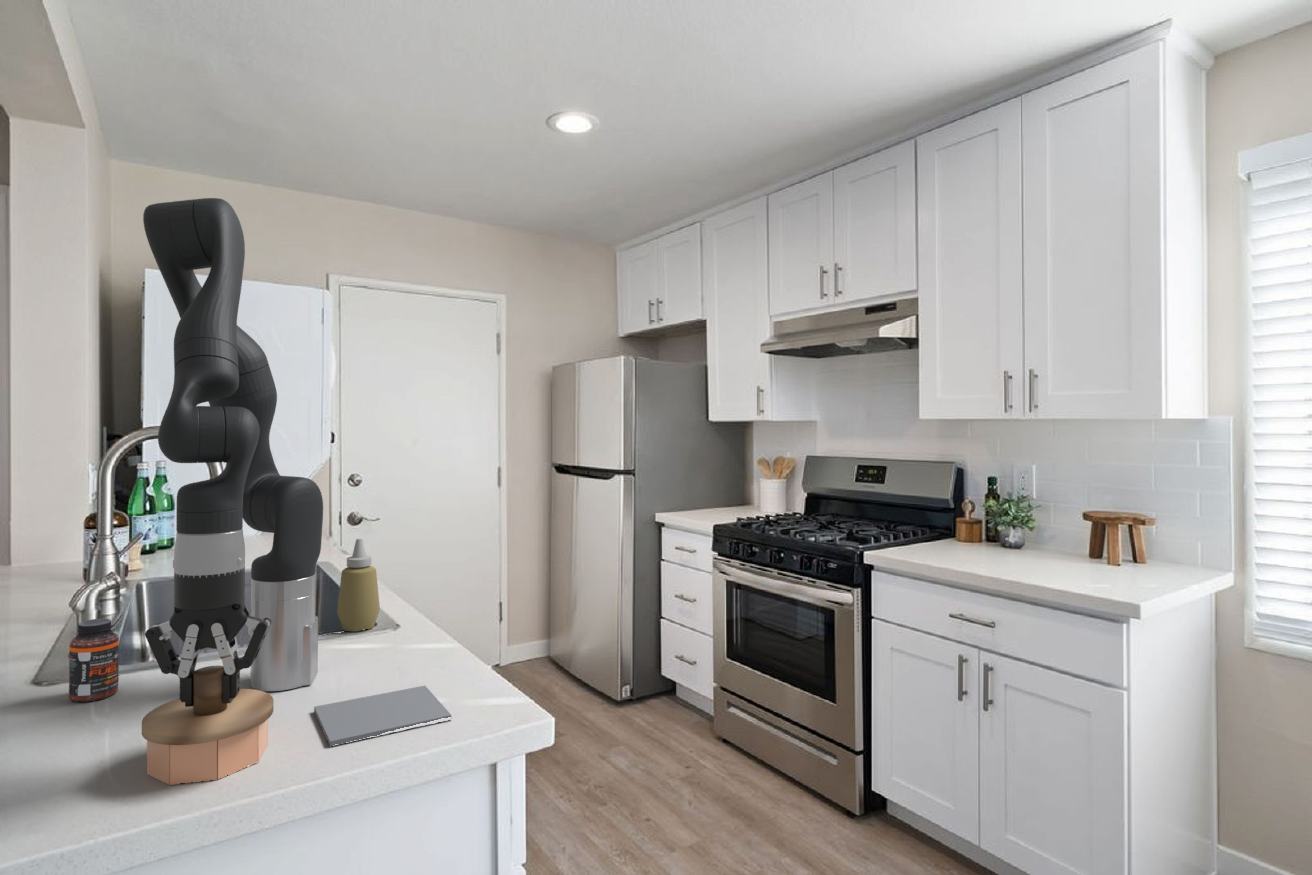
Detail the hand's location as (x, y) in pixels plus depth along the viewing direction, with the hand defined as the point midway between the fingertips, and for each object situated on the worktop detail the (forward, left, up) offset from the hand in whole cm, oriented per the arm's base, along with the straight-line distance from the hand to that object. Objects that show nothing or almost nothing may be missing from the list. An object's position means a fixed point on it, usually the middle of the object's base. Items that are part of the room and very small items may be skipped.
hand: (209, 702), depth 90 cm
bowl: (0, 0, -7) cm, 7 cm away
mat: (-20, -8, -7) cm, 22 cm away
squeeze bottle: (-11, -54, -7) cm, 56 cm away
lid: (0, 0, -2) cm, 2 cm away
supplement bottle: (+23, -26, -7) cm, 36 cm away
